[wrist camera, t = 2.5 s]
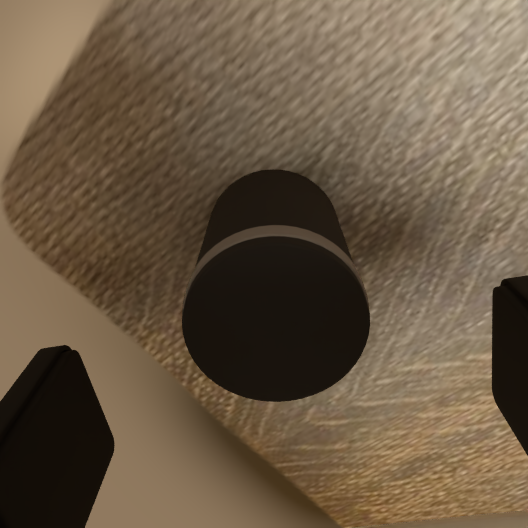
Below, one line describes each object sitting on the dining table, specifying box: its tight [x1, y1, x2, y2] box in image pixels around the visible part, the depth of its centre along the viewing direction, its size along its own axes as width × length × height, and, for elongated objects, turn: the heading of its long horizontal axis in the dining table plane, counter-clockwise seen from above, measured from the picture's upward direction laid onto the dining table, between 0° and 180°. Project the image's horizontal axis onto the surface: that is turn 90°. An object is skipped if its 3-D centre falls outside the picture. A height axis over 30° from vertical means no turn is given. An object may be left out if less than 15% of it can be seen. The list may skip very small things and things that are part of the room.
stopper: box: [182, 170, 370, 402], centre depth 14 cm, size 4×4×6 cm
